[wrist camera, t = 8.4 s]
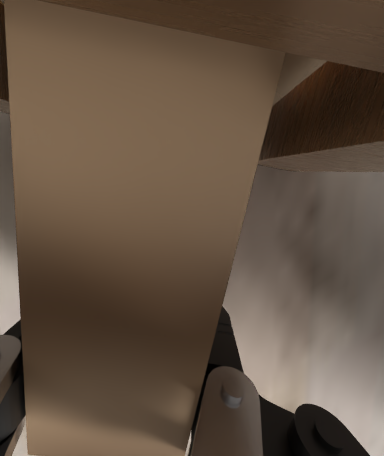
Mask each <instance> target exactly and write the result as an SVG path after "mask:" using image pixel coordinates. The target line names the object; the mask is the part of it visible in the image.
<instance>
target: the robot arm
mask: <svg viewBox="0 0 384 456" xmlns="http://www.w3.org/2000/svg"><path fill="white" fill-rule="evenodd" d="M233 334H234V333H233V329H232V327H231V321H230V317H229V314H228V313H227V311H226V310H225V309H224V308H223V306H222V308H221V312H220V316H219V320H218V324H217V328H216V332H215V336H214V340H213V344H212V348H211V352H210V356H209V360H208V364H207V368H206V372H205V376H204V380H203V384H202V388H201V392H200V396H199V400H198V404H197V408H196V412H195V416H194V420H193V424H192V428H191V444H190V448H189V452H188V456H370V455H369V454H368V453H367V451H366V450H365V449H364V448H363V447H362V445H361V444H360V443H359V442H358V441H357V440H356V438H355V437H354V436H353V435H352V434H351V432H350V431H349V430H348V429H347V428H346V427H345V426H344V424H343V423H342V422H341V421H339V420H338V419H337V418H336V417H335V416H334V415H332V414H331V413H330V412H328V411H327V410H325V409H323V408H321V407H319V406H316V405H313V404H302V405H300V406H299V407H298V408H297V409H296V411H295V414H294V413H292V412H289V411H287V410H285V409H283V408H281V407H279V406H277V405H275V404H273V403H271V402H269V401H267V400H265V399H264V398H263V397H261V396H260V395H259V394H258V392H257V389H256V387H255V386H254V384H253V382H252V381H251V380H250V379H249V378H248V377H247V376H246V375H245V374H244V372H243V369H242V365H241V361H240V357H239V353H238V349H237V345H236V341H235V337H234V335H233ZM25 415H26V410H25V391H24V372H23V353H22V334H21V320H19V321H18V322H17V323H16V324H15V325H14V326H12V327H11V328H10V329H9V330H8V331H7V332H6V333H4V334H3V335H0V456H12V453H13V451H14V449H15V446H16V444H17V442H18V439H19V437H20V435H21V432H22V430H23V427H24V423H25Z"/></svg>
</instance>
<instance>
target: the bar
mask: <svg viewBox="0 0 384 456" xmlns="http://www.w3.org/2000/svg"><path fill="white" fill-rule="evenodd" d="M4 10H5V29H6V48H7V67H8V86H9V105H10V124H11V143H12V162H13V181H14V200H15V219H16V238H17V257H18V276H19V295H20V314H21V334H22V353H23V372H24V391H25V410H26V429H27V448H28V454H29V455H37V456H185V452H186V448H187V444H188V440H189V436H190V432H191V428H192V424H193V420H194V416H195V412H196V408H197V404H198V400H199V396H200V392H201V388H202V384H203V380H204V376H205V372H206V368H207V364H208V360H209V356H210V352H211V348H212V344H213V340H214V336H215V332H216V328H217V324H218V320H219V316H220V312H221V308H222V304H223V300H224V296H225V292H226V288H227V284H228V280H229V276H230V272H231V268H232V264H233V260H234V256H235V252H236V248H237V244H238V240H239V236H240V232H241V228H242V224H243V220H244V216H245V212H246V208H247V204H248V200H249V196H250V192H251V188H252V184H253V180H254V176H255V172H256V168H257V164H258V160H259V156H260V152H261V148H262V144H263V140H264V136H265V132H266V128H267V125H268V121H269V117H270V113H271V109H272V105H273V101H274V97H275V93H276V89H277V85H278V81H279V77H280V73H281V69H282V65H283V61H284V57H285V53H286V52H282V51H277V50H272V49H267V48H262V47H258V46H253V45H248V44H243V43H239V42H234V41H229V40H224V39H220V38H215V37H210V36H205V35H200V34H196V33H191V32H186V31H181V30H177V29H172V28H167V27H162V26H157V25H153V24H148V23H143V22H138V21H134V20H129V19H124V18H119V17H114V16H110V15H105V14H100V13H95V12H91V11H86V10H81V9H76V8H71V7H67V6H62V5H57V4H52V3H48V2H43V1H38V0H4Z"/></svg>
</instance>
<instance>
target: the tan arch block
mask: <svg viewBox="0 0 384 456" xmlns="http://www.w3.org/2000/svg"><path fill="white" fill-rule="evenodd" d="M38 1H43V2H48V3H52V4H57V5H62V6H67V7H71V8H76V9H81V10H86V11H91V12H95V13H100V14H105V15H110V16H114V17H119V18H124V19H129V20H134V21H138V22H143V23H148V24H153V25H157V26H162V27H167V28H172V29H177V30H181V31H186V32H191V33H196V34H200V35H205V36H210V37H215V38H220V39H224V40H229V41H234V42H239V43H243V44H248V45H253V46H258V47H262V48H267V49H272V50H277V51H282V52H286V53H285V57H284V61H283V65H282V69H281V73H280V77H279V81H278V85H277V89H276V93H275V97H274V101H273V105H272V109H271V113H270V117H269V121H268V125H267V128H266V132H265V136H264V140H263V144H262V148H261V152H260V156H259V160H258V164H257V165H262V166H268V167H273V168H278V169H284V170H289V171H336V172H384V0H38ZM0 111H1V112H4V113H8V114H10V105H9V86H8V67H7V48H6V29H5V10H4V3H3V2H1V1H0Z"/></svg>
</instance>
